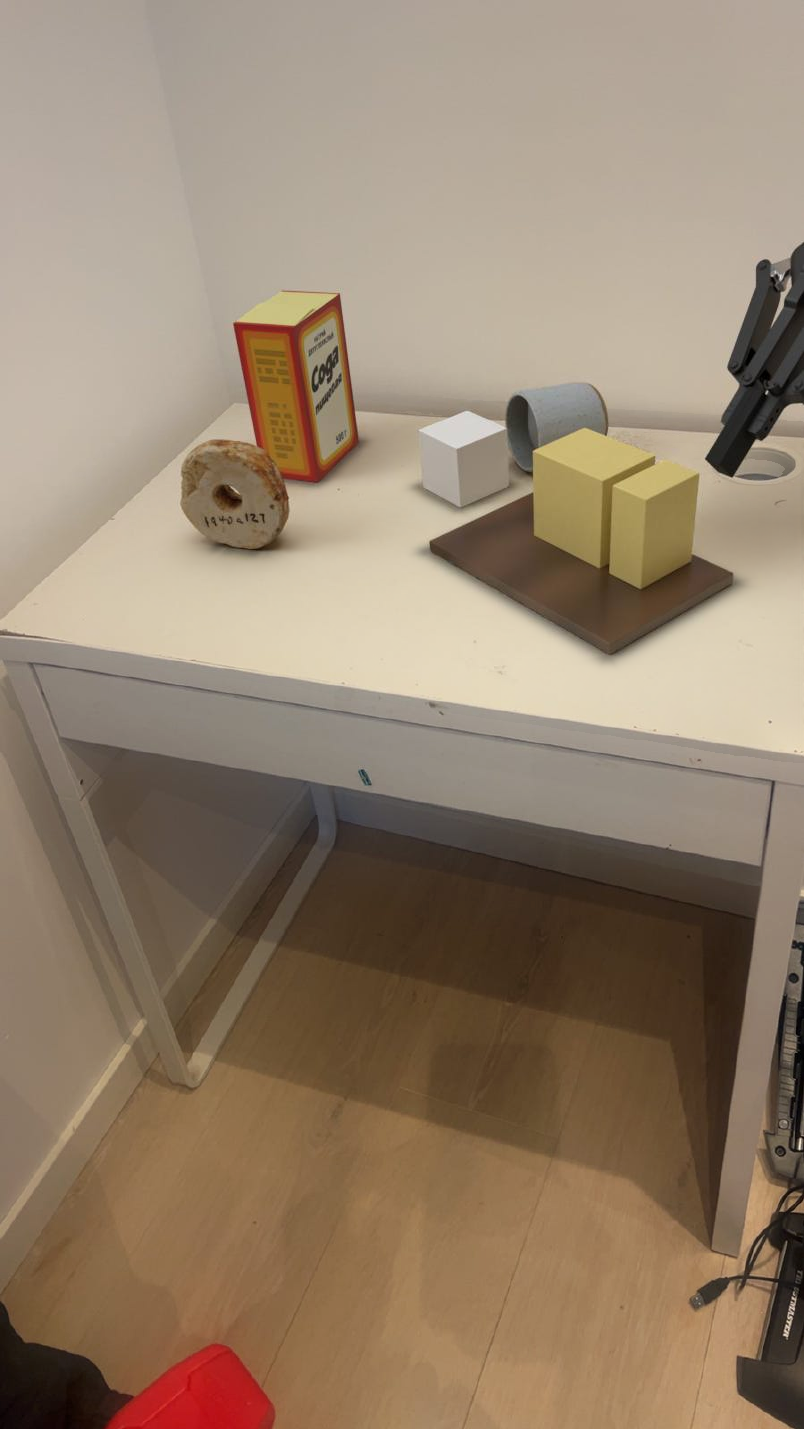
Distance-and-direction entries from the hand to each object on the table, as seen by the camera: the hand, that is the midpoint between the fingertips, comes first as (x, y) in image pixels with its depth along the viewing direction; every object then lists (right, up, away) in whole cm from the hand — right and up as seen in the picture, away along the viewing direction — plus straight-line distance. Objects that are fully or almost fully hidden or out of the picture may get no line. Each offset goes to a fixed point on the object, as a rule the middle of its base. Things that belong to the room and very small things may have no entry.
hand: (718, 468), depth 85 cm
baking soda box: (-35, +7, +25) cm, 44 cm away
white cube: (-20, +2, +17) cm, 26 cm away
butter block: (-10, -5, +5) cm, 12 cm away
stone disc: (-41, -4, +13) cm, 43 cm away
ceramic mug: (-11, +6, +20) cm, 24 cm away
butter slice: (-5, -8, +1) cm, 10 cm away
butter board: (-11, -8, +4) cm, 14 cm away
